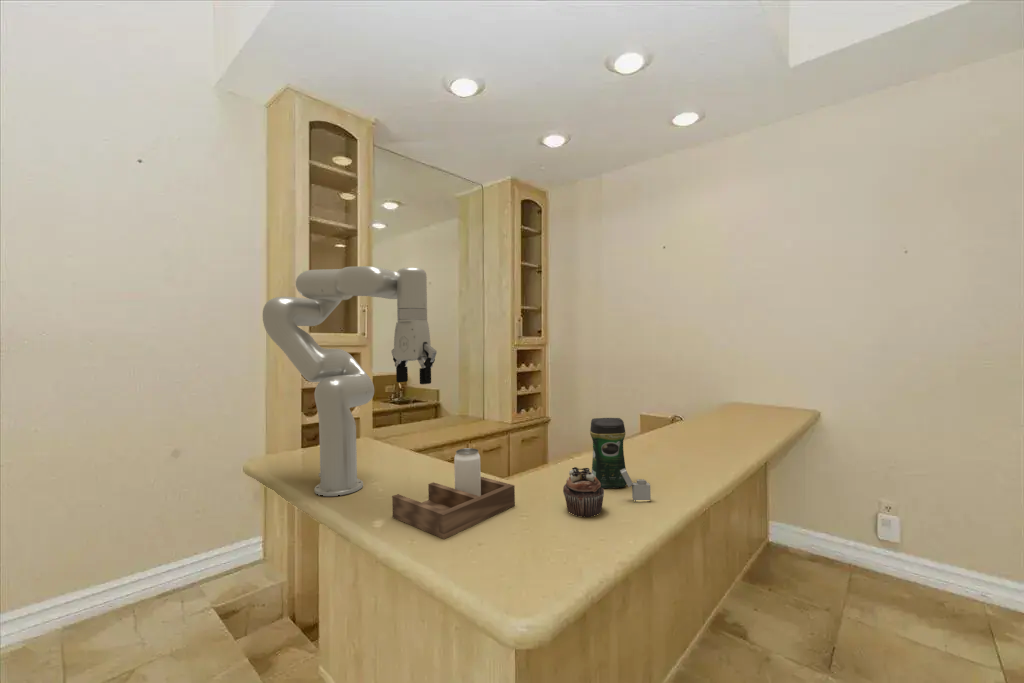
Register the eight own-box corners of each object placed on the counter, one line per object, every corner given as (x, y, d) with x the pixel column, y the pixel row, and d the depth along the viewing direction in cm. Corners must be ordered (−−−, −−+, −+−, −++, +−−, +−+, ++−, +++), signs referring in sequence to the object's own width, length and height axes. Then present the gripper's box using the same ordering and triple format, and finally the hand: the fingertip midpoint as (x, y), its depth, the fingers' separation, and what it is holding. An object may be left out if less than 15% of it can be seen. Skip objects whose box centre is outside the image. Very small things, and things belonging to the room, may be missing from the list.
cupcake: (610, 517, 99) (609, 473, 99) (568, 520, 98) (567, 475, 98) (598, 502, 108) (597, 462, 108) (559, 504, 108) (559, 463, 107)
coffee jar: (623, 479, 125) (621, 415, 125) (629, 489, 117) (628, 420, 117) (589, 480, 125) (587, 415, 125) (593, 489, 117) (592, 420, 117)
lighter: (648, 499, 109) (648, 467, 109) (650, 502, 108) (650, 469, 107) (620, 499, 110) (619, 468, 110) (621, 502, 108) (621, 470, 108)
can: (482, 494, 112) (482, 447, 112) (478, 503, 105) (477, 454, 105) (458, 494, 112) (457, 447, 112) (452, 503, 106) (451, 454, 106)
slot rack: (392, 517, 101) (392, 496, 101) (464, 490, 119) (463, 472, 119) (444, 539, 90) (443, 514, 90) (514, 505, 107) (514, 485, 107)
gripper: (380, 317, 115) (381, 382, 115) (421, 314, 104) (423, 386, 104) (404, 318, 121) (405, 380, 121) (445, 315, 109) (446, 383, 110)
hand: (413, 382), depth 112 cm, fingers open, 9 cm apart
